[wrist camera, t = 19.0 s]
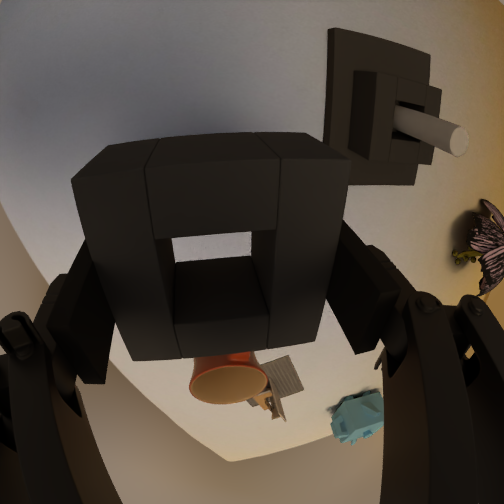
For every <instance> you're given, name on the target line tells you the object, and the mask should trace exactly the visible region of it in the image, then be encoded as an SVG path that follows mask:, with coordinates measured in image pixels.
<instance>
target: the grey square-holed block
mask: <svg viewBox="0 0 504 504" xmlns="http://www.w3.org/2000/svg"><path fill="white" fill-rule="evenodd" d="M351 164H352V161H351V160H350V159H349V158H347V157H346V156H344V155H342V154H341V153H339V152H338V151H336V150H334V149H333V148H331V147H329V146H327V145H326V144H324V143H322V142H321V141H319V140H317V139H315V138H314V137H312V136H310V135H308V134H307V133H296V132H255V133H253V132H238V133H214V134H198V135H185V136H174V137H165V138H161V139H160V138H156V139H148V140H140V141H133V142H126V143H119V144H113V145H108V146H107V147H105V148H104V149H103V150H102V151H101V152H100V153H99V154H97V155H96V156H95V157H94V158H93V159H92V160H91V161H90V162H88V163H87V164H86V165H85V166H84V167H83V168H82V169H81V170H80V171H79V172H78V173H77V174H76V175H75V176H74V177H73V178H72V179H71V184H72V188H73V193H74V197H75V201H76V206H77V210H78V214H79V217H80V221H81V225H82V228H83V232H84V235H85V239H86V242H87V246H88V249H89V252H90V255H91V258H92V260H93V262H94V265H95V268H96V271H97V274H98V277H99V280H100V282H101V285H102V288H103V291H104V293H105V296H106V299H107V301H108V304H109V306H110V309H111V311H112V314H113V316H114V319H115V323H116V325H117V327H118V330H119V332H120V334H121V337H122V339H123V341H124V343H125V345H126V348H127V350H128V352H129V354H130V356H131V358H132V360H133V361H154V360H172V359H182V358H196V357H207V356H217V355H226V354H235V353H243V352H251V351H258V350H265V349H266V348H267V349H273V348H279V347H285V346H291V345H297V344H303V343H309V342H314V341H315V339H316V336H317V332H318V328H319V324H320V320H321V317H322V313H323V309H324V305H325V300H326V296H327V292H328V288H329V283H330V279H331V275H332V270H333V265H334V261H335V256H336V251H337V246H338V241H339V236H340V231H341V226H342V220H343V214H344V209H345V203H346V197H347V191H348V184H349V178H350V171H351ZM248 231H252V238H251V256H239V257H228V258H217V259H206V260H195V261H184V262H176V264H175V258H174V252H173V245H172V238H177V237H189V236H200V235H212V234H223V233H236V232H248Z"/></svg>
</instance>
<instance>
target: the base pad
mask: <svg viewBox="0 0 504 504" xmlns="http://www.w3.org/2000/svg"><path fill="white" fill-rule="evenodd" d="M430 56H431V55H429V54H427V53H424V52H422V51H419V50H416V49H413V48H410V47H407V46H404V45H401V44H398V43H395V42H392V41H389V40H385V39H382V38H378V37H374V36H371V35H367V34H363V33H358V32H354V31H350V30H345V29H340V28H331V29H328V59H327V87H326V107H325V123H324V137H323V143H324V144H326V145H327V146H329V147H331V148H333V149H334V150H336V151H338V152H339V153H341V154H342V155H344V156H346V157H347V158H349V159H350V160H351V161H352V164H351V171H350V178H349V184H348V185H414V183H415V179H416V174H417V169H418V164H412V163H399V162H384V161H368V160H367V159H365V158H363V157H362V156H360V155H358V154H356V153H355V152H353V151H351V150H349V149H348V144H349V133H350V122H351V110H352V95H353V77H354V70H359V71H373V72H380V73H385V74H389V75H393V76H397V77H401V78H405V79H409V80H412V81H416V82H419V83H423V84H426V85H429V77H430ZM397 130H398V131H401V132H403V133H406V134H408V135H410V136H413V137H415V138H417V139H420V140H422V141H424V142H426V143H429V144H431V145H433V146H435V147H437V148H439V149H441V150H443V151H446V152H448V153H450V154H452V155H454V156H456V157H460V156H462V155H463V154H464V153H465V152H466V150H467V148H468V144H469V136H468V132H467V131H466V129H465V128H464V127H461V126H459V125H456V124H454V123H451V122H448V121H445V120H443V119H440V118H437V117H434V116H431V115H428V114H425V113H422V112H418V111H415V110H412V109H408V108H405V107H401V106H400V101H398V100H395V111H394V120H393V129H392V132H397Z"/></svg>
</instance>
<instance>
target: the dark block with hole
mask: <svg viewBox="0 0 504 504" xmlns="http://www.w3.org/2000/svg"><path fill="white" fill-rule="evenodd" d="M441 94H442V90H441V89H439V88H436V87H432V86H429V85H426V84H423V83H419V82H416V81H412V80H409V79H405V78H401V77H397V76H393V75H389V74H385V73H380V72H373V71H359V70H354V77H353V95H352V110H351V122H350V133H349V144H348V149H349V150H351V151H353V152H355V153H356V154H358V155H360V156H362V157H363V158H365V159H367V160H368V161H384V162H399V163H412V164H425V165H431V163H432V158H433V153H434V147H435V146H433V145H431V144H429V143H426V142H424V141H422V140H420V139H417V138H415V137H413V136H410V135H408V134H406V133H403V132H401V131H398V130H397V132H392V129H393V120H394V111H395V100H398V101H400V106H401V107H405V108H408V109H412V110H415V111H418V112H422V113H425V114H428V115H431V116H434V117H437V118H439V113H440V104H441Z"/></svg>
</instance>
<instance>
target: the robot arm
mask: <svg viewBox="0 0 504 504" xmlns="http://www.w3.org/2000/svg"><path fill="white" fill-rule="evenodd" d="M326 299H327V301H328V303H329V305H330V307H331V309H332V311H333V313H334V315H335V316H336V318H337V320H338V322H339V324H340V326H341V328H342V330H343V332H344V334H345V336H346V337H347V339H348V341H349V343H350V345H351V347H352V349H353V351H354V353H355V355H357V354H360V353H364V352H368V351H372V350H374V349H375V347H376V345H377V343H378V341H379V339H381V341H382V342H383V344H384V346H385V347H384V349H383V351H382V352H381V354H380V356H379V358H378V360H377V362H376V363H375V367H374V369H375V370H377V369H378V367H379V365H380V364H381V362H382V368H381V370H382V376H383V399H384V449H383V470H382V484H381V495H380V504H504V330H503V329H502V327H501V325H500V324H499V322H498V321H497V319H496V318H495V316H494V315H493V313H492V312H491V310H490V309H489V307H488V306H487V305H486V303H485V302H484V301H483V300H481V299H480V298H479V297H477V296H474V295H464V296H463V297H462V298H461V300H460V302H459V303H458V305H457V306H449V305H442V303H441V302H440V301H439V300H438V299H437V298H436V297H435V296H433V295H431V294H430V293H427V292H423V291H416V290H415V289H414V287H413V286H412V285H411V284H410V283H409V281H408V280H407V279H406V278H405V277H404V275H403V274H402V273H401V272H400V271H399V269H396V266H395V265H394V264H393V263H392V262H390V259H389V258H388V257H387V256H386V255H385V253H384V252H383V251H381V250H379V249H378V248H376V247H375V246H373V245H365V244H364V243H363V242H362V240H361V239H360V238H359V237H358V236H357V235H356V234H355V232H354V231H353V230H352V229H351V228H350V227H349V226H348V225H347V224H346V222H345V221H344V220H342V226H341V231H340V236H339V241H338V246H337V251H336V256H335V261H334V265H333V270H332V275H331V279H330V283H329V288H328V292H327V296H326ZM114 326H115V319H114V316H113V314H112V311H111V309H110V306H109V304H108V301H107V299H106V296H105V293H104V291H103V288H102V285H101V282H100V280H99V277H98V274H97V271H96V268H95V265H94V262H93V260H92V258H91V255H90V252H89V249H88V246H87V242H86V239H85V240H84V242H83V244H82V246H81V248H80V250H79V252H78V254H77V256H76V258H75V260H74V262H73V264H72V266H71V268H70V270H69V272H68V273H67V274H59V275H58V276H57V277H56V279H55V280H54V281H53V282H52V283H51V284H50V286H49V288H48V291H47V293H46V296H45V297H44V299H43V301H42V304H41V305H40V308H39V310H38V312H37V315H36V317H35V319H34V322H33V323H32V321H31V319H30V318H29V316H28V315H27V314H26V313H25V312H20V311H17V312H12V313H10V314H9V315H7V316H5V317H4V318H3V319H2V320H1V321H0V345H1V346H2V348H3V349H4V351H5V352H6V353H7V354H4V355H0V504H123V503H122V501H121V499H120V497H119V495H118V493H117V491H116V489H115V487H114V485H113V483H112V480H111V478H110V476H109V474H108V471H107V469H106V467H105V464H104V462H103V459H102V457H101V454H100V452H99V449H98V447H97V444H96V441H95V438H94V436H93V433H92V430H91V427H90V424H89V421H88V418H87V414H86V411H85V408H84V405H83V401H82V397H81V393H80V391H79V389H78V388H77V386H76V385H75V381H76V377H77V375H78V376H79V377H80V378H81V380H82V381H83V383H84V384H105V380H106V373H107V366H108V360H109V354H110V348H111V342H112V336H113V331H114ZM470 346H472V348H473V350H474V354H473V355H472V356H471V358H470V359H469V358H467V357H466V355H465V353H466V352H467V350H468V349H469V348H470Z"/></svg>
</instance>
